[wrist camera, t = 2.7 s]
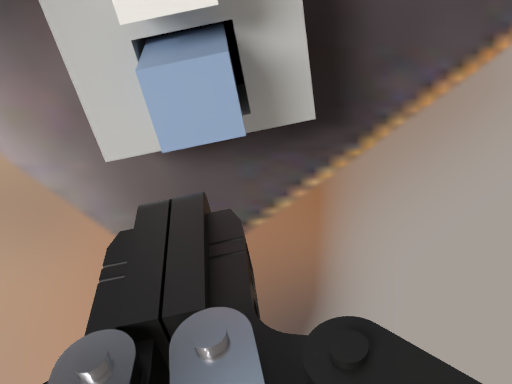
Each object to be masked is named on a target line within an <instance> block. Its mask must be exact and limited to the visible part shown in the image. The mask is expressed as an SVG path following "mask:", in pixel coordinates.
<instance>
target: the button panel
mask: <svg viewBox="0 0 512 384" xmlns="http://www.w3.org/2000/svg"><path fill="white" fill-rule="evenodd" d="M39 2H40V5H41V7H42V10H43V12H44V15H45V17H46V19H47V22H48V24H49V27H50V29H51V31H52V34H53V36H54V39H55V41H56V43H57V46H58V48H59V51H60V53H61V56H62V58H63V60H64V63H65V65H66V68H67V70H68V72H69V75H70V77H71V80H72V82H73V84H74V87H75V89H76V92H77V94H78V97H79V99H80V101H81V104H82V106H83V109H84V111H85V113H86V116H87V118H88V121H89V123H90V125H91V128H92V130H93V133H94V135H95V138H96V140H97V142H98V145H99V147H100V150H101V152H102V154H103V157H104V159H105V162H109V161H114V160H118V159H123V158H128V157H133V156H138V155H143V154H148V153H152V152H157V151H162V150H161V147H160V144H159V141H158V138H157V135H156V132H155V129H154V126H153V123H152V120H151V117H150V114H149V111H148V108H147V105H146V102H145V99H144V96H143V93H142V90H141V87H140V84H139V81H138V78H137V75H136V72H135V70H136V67H137V64H138V62H139V59H140V57H141V54H142V51H143V49H144V46H145V43H146V41H147V39H148V38H147V37H150V36H154V35H159V34H164V33H169V32H174V31H178V30H183V29H188V28H193V27H197V26H202V25H207V24H212V23H217V22H221V21H226V20H232V25H233V30H234V35H235V40H236V45H237V50H238V55H239V60H240V65H241V70H242V75H243V80H244V84H240V85H236V86H237V91H238V95H239V101H240V106H241V111H242V117H243V122H244V128H245V133H250V132H254V131H259V130H264V129H269V128H274V127H279V126H284V125H288V124H293V123H298V122H303V121H308V120H313V119H316V117H315V108H314V99H313V90H312V82H311V73H310V64H309V55H308V46H307V37H306V29H305V20H304V11H303V2H302V0H218V5H214V6H209V7H204V8H200V9H195V10H190V11H185V12H180V13H176V14H171V15H166V16H161V17H157V18H152V19H147V20H142V21H138V22H133V23H128V24H123V25H120V23H119V20H118V17H117V14H116V11H115V8H114V5H113V2H112V0H39Z"/></svg>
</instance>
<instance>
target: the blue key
mask: <svg viewBox="0 0 512 384" xmlns="http://www.w3.org/2000/svg"><path fill="white" fill-rule="evenodd" d="M135 72H136V75H137V78H138V81H139V84H140V87H141V90H142V93H143V96H144V99H145V102H146V105H147V108H148V111H149V114H150V117H151V120H152V123H153V126H154V129H155V132H156V135H157V138H158V141H159V144H160V147H161V150H162V153H165V152H170V151H174V150H179V149H184V148H189V147H194V146H199V145H204V144H208V143H213V142H218V141H223V140H228V139H233V138H238V137H242V136H246V133H245V128H244V122H243V117H242V111H241V106H240V101H239V95H238V91H237V86H236V81H235V76H234V71H233V67H232V62H231V57H230V52H229V47H228V43H227V38H226V33H225V28H224V24H223V23H220V24H215V25H210V26H205V27H200V28H196V29H191V30H186V31H181V32H177V33H172V34H167V35H162V36H157V37H153V38H148V39H147V41H146V43H145V46H144V49H143V51H142V54H141V57H140V59H139V62H138V64H137V67H136V70H135Z"/></svg>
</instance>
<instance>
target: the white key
mask: <svg viewBox="0 0 512 384" xmlns="http://www.w3.org/2000/svg"><path fill="white" fill-rule="evenodd" d="M112 2H113V5H114V8H115V11H116V14H117V17H118V20H119V23H120V25H123V24H128V23H133V22H138V21H142V20H147V19H152V18H157V17H161V16H166V15H171V14H176V13H180V12H185V11H190V10H195V9H200V8H204V7H209V6H214V5H218V0H112Z"/></svg>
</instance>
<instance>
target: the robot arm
mask: <svg viewBox="0 0 512 384" xmlns="http://www.w3.org/2000/svg"><path fill="white" fill-rule="evenodd" d="M99 282H100V283H99V284H98V286H97V290H96V294H95V297H94V301H93V305H92V309H91V313H90V317H89V321H88V324H87V328H86V332H85V336H84V337H82V338H81V339H79V340H77V341H76V342H75V343H73V344H72V345H71V346H70V347H69V348H68V349H66V350H65V351H64V353H63V354H62V355H61V356H60V358H59V359H58V361H57V362H56V364H55V366H54V368H53V370H52V373H51V375H50V378H49V381H47V382H45V383H43V384H482V383H480V382H478V381H476V380H475V379H473V378H471V377H469V376H468V375H466V374H464V373H462V372H461V371H459V370H457V369H455V368H454V367H452V366H450V365H448V364H447V363H445V362H443V361H441V360H440V359H438V358H436V357H434V356H432V355H431V354H429V353H427V352H425V351H424V350H422V349H420V348H418V347H417V346H415V345H413V344H411V343H410V342H408V341H406V340H404V339H403V338H401V337H399V336H397V335H395V334H394V333H392V332H390V331H388V330H387V329H385V328H383V327H381V326H380V325H378V324H376V323H374V322H372V321H370V320H367V319H364V318H360V317H354V316H345V317H344V316H343V317H337V318H333V319H330V320H327V321H325V322H323V323H321V324H320V325H318V326H317V327H316V328H315V329H314V330H312V332H311V333H310V334H309V335H296V334H288V333H282V332H279V331H276V330H274V329H271V328H270V327H268V326H267V325H265V324H264V323H263V322H262V321H261V320H260V314H259V307H258V302H257V301H258V300H257V294H256V289H255V280H254V274H253V268H252V264H251V260H250V256H249V251H248V247H247V243H246V239H245V235H244V230H243V226H242V222H241V220H240V219H239V218H238V217H237V216H236V214H235V213H234V212H233V211H232V210H231V209H227V210H222V211H217V212H212V213H211V210H210V207H209V203H208V200H207V197H206V194H205V193H204V192H201V193H196V194H192V195H187V196H182V197H177V198H173V199H168V200H163V201H158V202H153V203H148V204H144V205H139V207H138V209H137V215H136V220H135V225H134V229H130V230H125V231H120V232H119V234H118V235H117V236H116V237H115V239H114V240H113V241H112V243H111V244H110V245H109V247H108V248H107V251H106V255H105V259H104V263H103V269H102V270H101V274H100V278H99Z"/></svg>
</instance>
